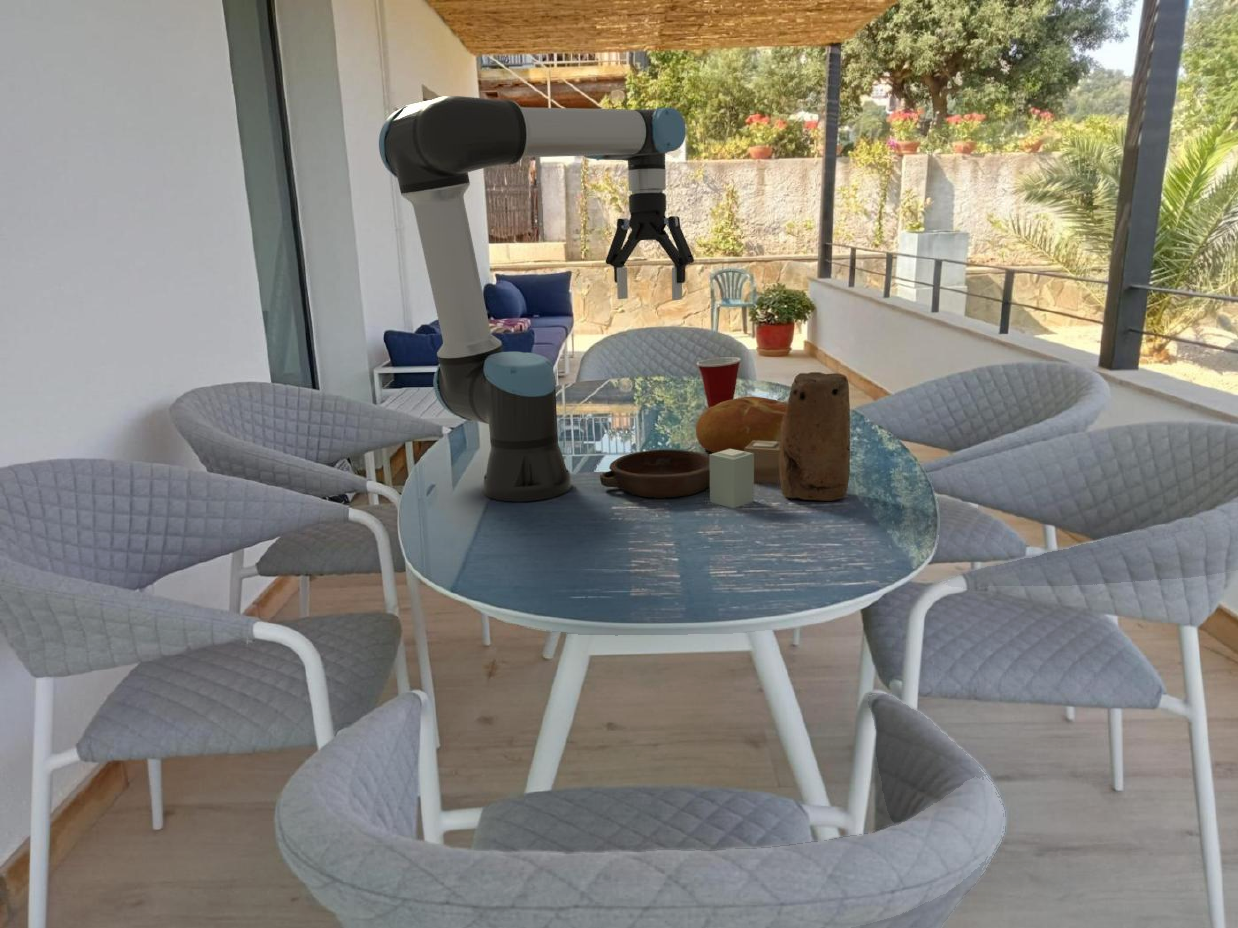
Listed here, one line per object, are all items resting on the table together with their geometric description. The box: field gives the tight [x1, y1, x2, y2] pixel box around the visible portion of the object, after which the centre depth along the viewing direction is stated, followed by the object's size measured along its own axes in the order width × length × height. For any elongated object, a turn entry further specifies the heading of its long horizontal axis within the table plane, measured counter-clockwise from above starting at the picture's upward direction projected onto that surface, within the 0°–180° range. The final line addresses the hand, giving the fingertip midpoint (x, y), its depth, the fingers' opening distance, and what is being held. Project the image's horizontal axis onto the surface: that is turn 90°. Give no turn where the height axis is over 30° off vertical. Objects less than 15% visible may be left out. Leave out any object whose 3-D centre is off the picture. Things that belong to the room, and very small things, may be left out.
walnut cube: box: [744, 440, 780, 484], centre depth 153 cm, size 6×6×6 cm
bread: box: [695, 396, 788, 454], centre depth 174 cm, size 23×23×10 cm
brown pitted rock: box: [779, 371, 851, 502], centre depth 140 cm, size 11×8×20 cm
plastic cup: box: [696, 356, 742, 409], centre depth 213 cm, size 11×11×12 cm
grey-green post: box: [708, 449, 755, 509], centre depth 141 cm, size 5×5×8 cm
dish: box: [599, 448, 710, 499], centre depth 150 cm, size 18×22×5 cm
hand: (649, 299), depth 182 cm, fingers open, 13 cm apart
